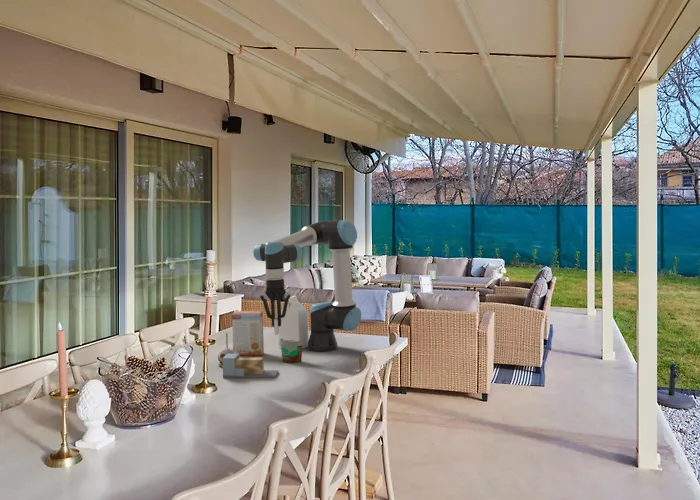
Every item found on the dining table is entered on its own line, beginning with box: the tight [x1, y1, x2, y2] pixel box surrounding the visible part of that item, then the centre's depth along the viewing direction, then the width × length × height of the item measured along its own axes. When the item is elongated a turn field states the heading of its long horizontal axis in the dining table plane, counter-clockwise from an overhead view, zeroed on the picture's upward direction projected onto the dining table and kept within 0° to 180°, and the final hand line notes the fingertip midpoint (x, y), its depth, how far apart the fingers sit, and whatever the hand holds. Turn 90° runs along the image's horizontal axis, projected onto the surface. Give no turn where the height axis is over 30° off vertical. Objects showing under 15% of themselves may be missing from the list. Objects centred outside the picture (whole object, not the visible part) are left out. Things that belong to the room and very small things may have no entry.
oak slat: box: [235, 357, 265, 374], centre depth 260 cm, size 14×4×6 cm, turn 92°
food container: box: [278, 338, 304, 364], centre depth 282 cm, size 12×6×10 cm, turn 62°
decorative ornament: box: [217, 332, 235, 368], centre depth 276 cm, size 8×8×15 cm
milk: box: [277, 295, 309, 350], centre depth 312 cm, size 12×12×26 cm
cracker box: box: [231, 310, 265, 356], centre depth 297 cm, size 14×6×21 cm, turn 84°
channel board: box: [222, 354, 279, 379], centre depth 260 cm, size 22×11×8 cm, turn 88°
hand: (276, 333), depth 259 cm, fingers closed
